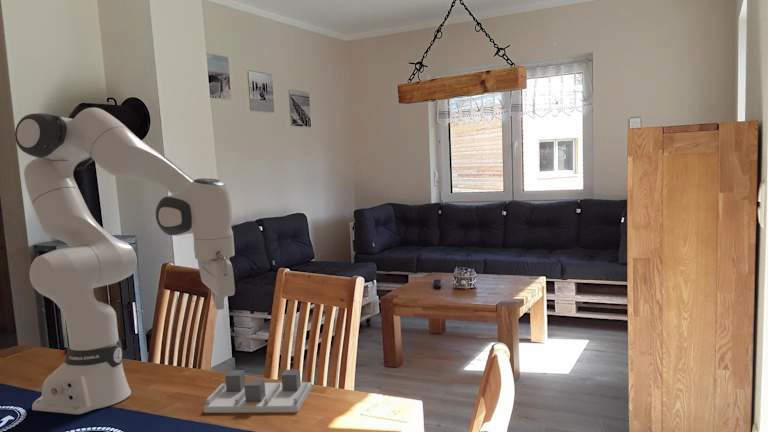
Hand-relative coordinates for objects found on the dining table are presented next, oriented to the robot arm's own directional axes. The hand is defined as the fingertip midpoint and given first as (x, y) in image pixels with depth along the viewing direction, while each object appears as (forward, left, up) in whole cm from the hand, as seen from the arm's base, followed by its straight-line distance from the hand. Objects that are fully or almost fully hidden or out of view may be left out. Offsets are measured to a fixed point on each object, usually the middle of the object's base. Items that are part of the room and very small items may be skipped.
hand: (219, 308), depth 140 cm
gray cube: (0, +6, -22) cm, 23 cm away
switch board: (+7, +3, -23) cm, 25 cm away
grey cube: (+14, +6, -22) cm, 27 cm away
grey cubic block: (+7, 0, -22) cm, 23 cm away
